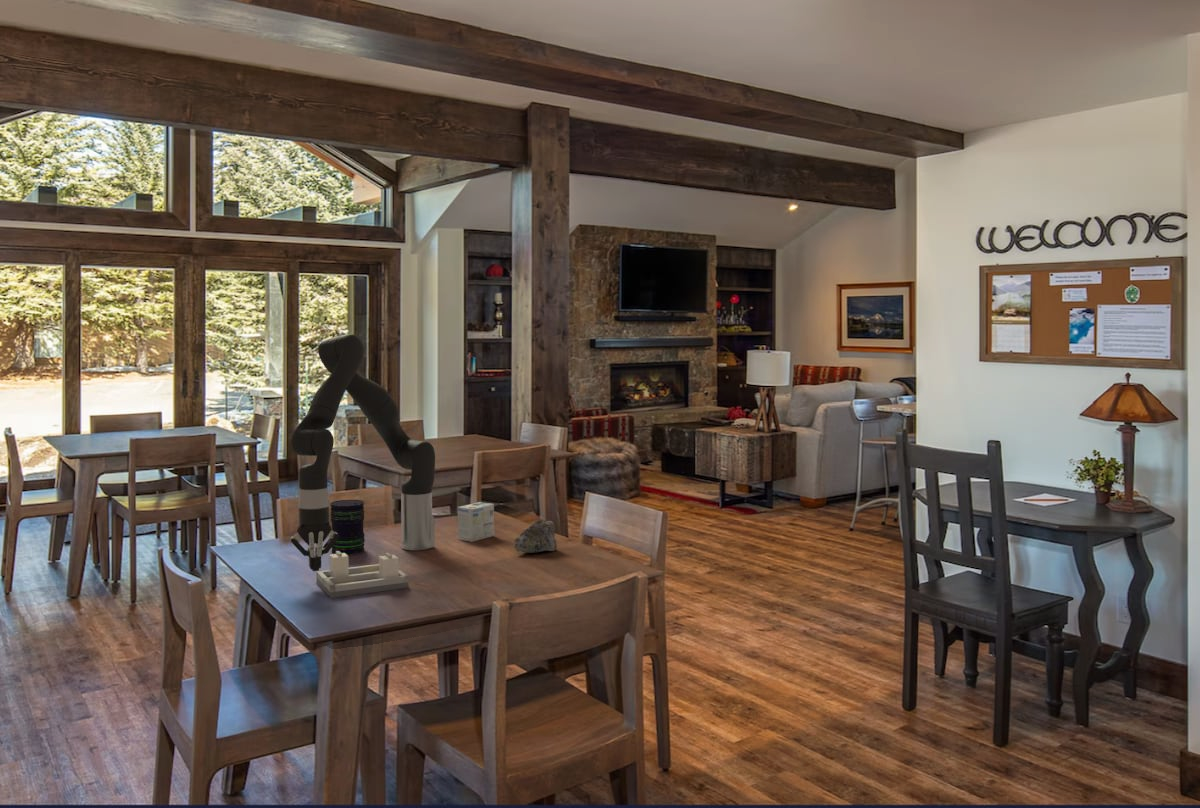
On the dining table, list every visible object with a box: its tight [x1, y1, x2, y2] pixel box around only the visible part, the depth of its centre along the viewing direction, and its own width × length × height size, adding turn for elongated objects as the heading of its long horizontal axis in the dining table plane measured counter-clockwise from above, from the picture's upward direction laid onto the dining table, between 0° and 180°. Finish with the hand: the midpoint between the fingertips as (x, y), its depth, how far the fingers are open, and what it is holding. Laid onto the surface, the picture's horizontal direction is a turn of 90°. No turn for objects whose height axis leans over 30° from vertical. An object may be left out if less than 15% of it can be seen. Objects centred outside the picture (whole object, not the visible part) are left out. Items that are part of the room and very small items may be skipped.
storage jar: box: [330, 499, 366, 556], centre depth 280 cm, size 10×10×15 cm
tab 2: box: [378, 552, 400, 579], centre depth 243 cm, size 4×4×7 cm
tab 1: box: [328, 551, 350, 577], centre depth 245 cm, size 4×4×7 cm
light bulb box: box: [457, 501, 495, 543], centre depth 299 cm, size 11×7×11 cm, turn 144°
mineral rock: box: [513, 519, 557, 554], centre depth 282 cm, size 13×11×10 cm
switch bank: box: [316, 563, 409, 599], centre depth 244 cm, size 20×16×3 cm
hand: (315, 570), depth 242 cm, fingers closed
